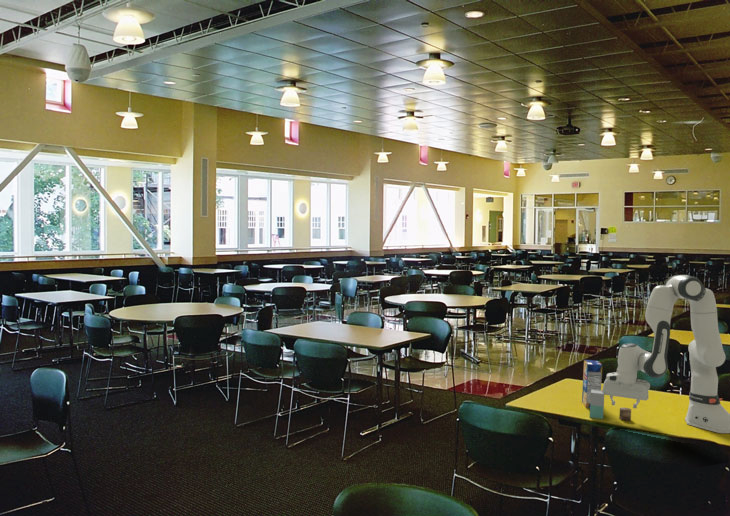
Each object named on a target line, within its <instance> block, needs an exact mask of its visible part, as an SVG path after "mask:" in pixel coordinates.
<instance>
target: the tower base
mask: <svg viewBox="0 0 730 516" xmlns="http://www.w3.org/2000/svg"><path fill="white" fill-rule="evenodd" d="M604 407H605V406H604ZM604 407H603V406H595V405H590V408H589V418H592V419H599V420H604V410H605V409H604Z"/></svg>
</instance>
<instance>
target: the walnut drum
mask: <svg viewBox="0 0 730 516" xmlns="http://www.w3.org/2000/svg"><path fill="white" fill-rule="evenodd" d="M620 419H621V420H620ZM631 419H632V409H631V408H628V407H619V420H620V421H623V420H624V422H630V421H632V420H631Z"/></svg>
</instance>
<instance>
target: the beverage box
mask: <svg viewBox="0 0 730 516" xmlns="http://www.w3.org/2000/svg"><path fill="white" fill-rule="evenodd" d="M582 373H583V375H582V392H581V393H582V395H581V403H582V404H583V406H585V408H589V409H590V401H591V390H599V391H602V381H603V380H602V379H603V364H602V363H601V362H600V361H599V360H595V359H593V360H592V359H583V372H582Z"/></svg>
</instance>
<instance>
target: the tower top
mask: <svg viewBox="0 0 730 516" xmlns="http://www.w3.org/2000/svg"><path fill="white" fill-rule="evenodd" d="M590 405H595V406H603V407H605V395H604V393H603V392H602V390H601V391H599V390H591V401H590Z"/></svg>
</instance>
